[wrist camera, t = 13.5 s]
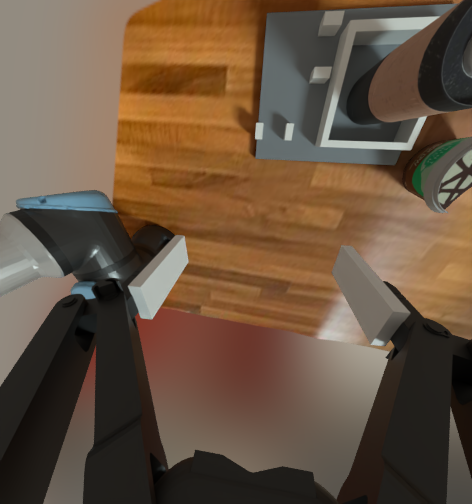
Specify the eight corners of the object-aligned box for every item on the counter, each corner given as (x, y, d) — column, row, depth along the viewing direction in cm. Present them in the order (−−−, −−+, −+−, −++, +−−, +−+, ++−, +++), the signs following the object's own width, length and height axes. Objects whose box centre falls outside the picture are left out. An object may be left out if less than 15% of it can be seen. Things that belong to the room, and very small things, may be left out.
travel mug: (354, 65, 27) (489, -56, 11) (408, 65, 27) (650, -68, 10) (337, 126, 31) (416, 108, 15) (384, 127, 31) (525, 109, 14)
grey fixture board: (256, 158, 37) (255, 158, 36) (267, 19, 27) (267, 12, 26) (390, 164, 34) (395, 165, 33) (458, 10, 24) (469, 3, 23)
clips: (256, 139, 34) (254, 139, 32) (264, 26, 27) (264, 14, 24) (311, 141, 33) (315, 141, 31) (337, 23, 26) (344, 10, 23)
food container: (438, 117, 30) (504, 107, 22) (468, 133, 31) (544, 130, 22) (379, 186, 37) (412, 200, 28) (404, 199, 37) (444, 216, 29)
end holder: (314, 146, 34) (320, 146, 30) (340, 35, 26) (350, 20, 23) (395, 149, 32) (410, 150, 28) (447, 32, 24) (476, 14, 21)
